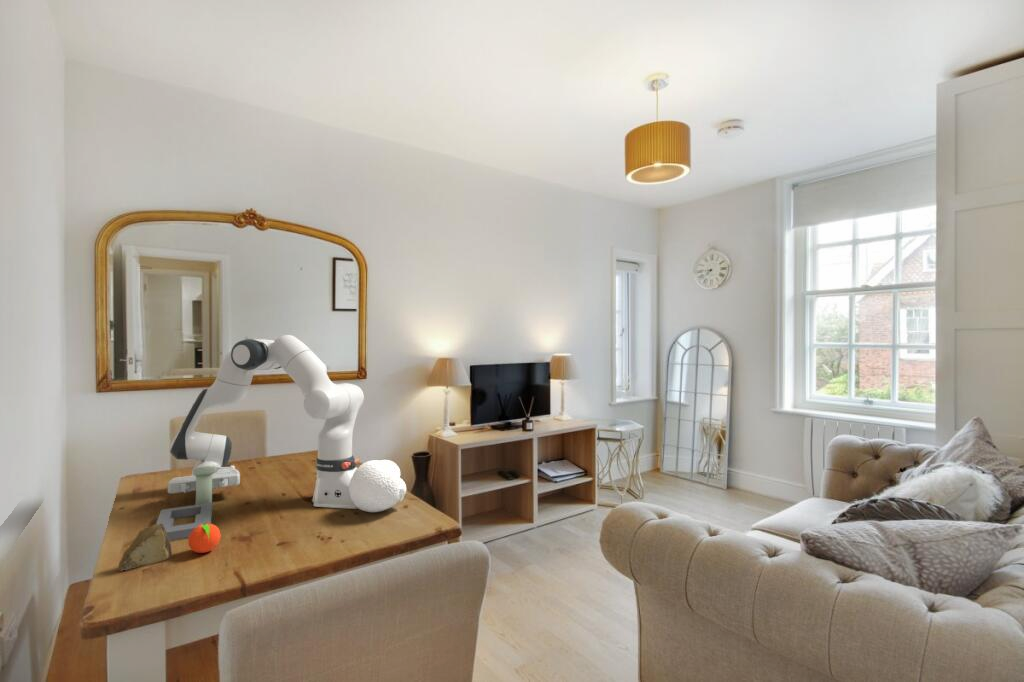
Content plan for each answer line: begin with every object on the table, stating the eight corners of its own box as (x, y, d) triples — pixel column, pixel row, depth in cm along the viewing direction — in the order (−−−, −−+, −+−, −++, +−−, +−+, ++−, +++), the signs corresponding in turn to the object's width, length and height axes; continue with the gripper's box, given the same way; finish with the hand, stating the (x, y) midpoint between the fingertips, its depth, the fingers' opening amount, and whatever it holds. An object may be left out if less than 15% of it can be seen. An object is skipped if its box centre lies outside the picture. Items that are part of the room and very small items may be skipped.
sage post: (218, 505, 155) (219, 467, 155) (201, 511, 150) (202, 471, 150) (205, 503, 157) (206, 465, 157) (188, 509, 151) (189, 470, 152)
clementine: (224, 553, 120) (225, 525, 120) (192, 562, 115) (192, 532, 115) (216, 543, 126) (217, 516, 126) (185, 551, 121) (185, 523, 121)
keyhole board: (161, 517, 144) (161, 509, 144) (212, 510, 151) (212, 502, 151) (151, 544, 125) (151, 534, 125) (210, 534, 132) (210, 525, 132)
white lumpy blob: (331, 517, 145) (332, 464, 145) (360, 498, 163) (361, 451, 162) (393, 523, 142) (394, 469, 141) (415, 502, 159) (416, 455, 159)
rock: (108, 568, 107) (159, 556, 110) (113, 532, 111) (162, 521, 115) (127, 578, 115) (174, 567, 118) (131, 544, 119) (176, 534, 123)
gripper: (169, 472, 159) (164, 482, 148) (239, 464, 170) (240, 473, 158) (168, 491, 159) (164, 503, 148) (239, 482, 170) (240, 492, 158)
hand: (204, 487), depth 153 cm, fingers open, 8 cm apart
